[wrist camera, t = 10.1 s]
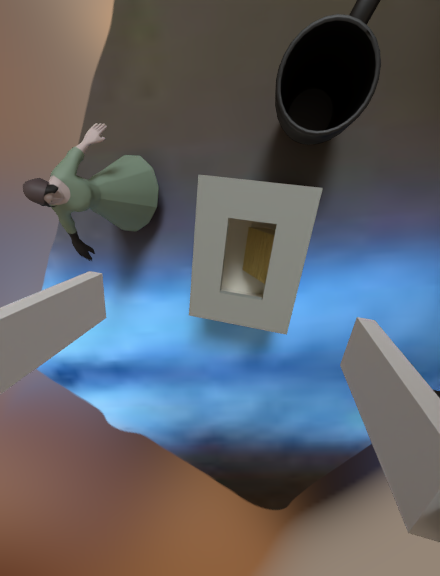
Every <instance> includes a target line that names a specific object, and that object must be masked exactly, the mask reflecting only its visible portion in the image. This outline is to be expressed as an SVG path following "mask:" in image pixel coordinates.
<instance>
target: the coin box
mask: <svg viewBox="0 0 440 576" xmlns="http://www.w3.org/2000/svg"><path fill="white" fill-rule="evenodd" d="M322 189H323V188H318V187H309V186H300V185H290V184H281V183H272V182H262V181H253V180H244V179H234V178H225V177H216V176H206V175H199V176H198V190H197V205H196V220H195V234H194V249H193V264H192V279H191V293H190V308H189V315H190V316H195V317H200V318H205V319H210V320H215V321H220V322H225V323H230V324H236V325H241V326H246V327H251V328H256V329H261V330H266V331H271V332H276V333H282V334H287V331H288V327H289V323H290V319H291V315H292V310H293V306H294V302H295V298H296V294H297V290H298V286H299V282H300V278H301V274H302V270H303V266H304V262H305V258H306V254H307V250H308V246H309V242H310V238H311V233H312V229H313V225H314V221H315V217H316V213H317V209H318V205H319V201H320V197H321V193H322ZM249 227H258V228H269V229H272V230H275V235H274V240H273V245H272V251H271V256H270V261H269V266H268V272H267V277H266V282H265V284H264V283H262V282H261V281H259V280H258V279H256V278H254V277H253V276H251V275H250V274H248V273H247V272H245V271H243V270H242V268H243V262H244V255H245V248H246V242H247V235H248V229H249Z"/></svg>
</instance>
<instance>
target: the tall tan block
mask: <svg viewBox="0 0 440 576" xmlns="http://www.w3.org/2000/svg"><path fill="white" fill-rule="evenodd" d="M274 235H275V230H272V229H269V228H258V227H249V229H248V235H247V242H246V248H245V255H244V262H243V268H242V270H243V271H245V272H247V273H248V274H250V275H251V276H253V277H254V278H256V279H258V280H259V281H261V282H262V283H264V284H265V282H266V277H267V272H268V266H269V261H270V256H271V251H272V245H273V240H274Z"/></svg>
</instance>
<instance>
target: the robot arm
mask: <svg viewBox="0 0 440 576" xmlns="http://www.w3.org/2000/svg"><path fill="white" fill-rule="evenodd" d="M105 318H106V311H105V300H104V288H103V277H102V273H96V272H91V271H89V272H87V273H84V274H82V275H79V276H77V277H74V278H72V279H70V280H67V281H65V282H62V283H60V284H57V285H55V286H52V287H50V288H47V289H45V290H42V291H40V292H38V293H35V294H33V295H30V296H28V297H26V298H23V299H20V300H18V301H15V302H13V303H11V304H8V305H6V306H3V307H1V308H0V395H1V394H2V393H3V392H5V391H6V390H7V389H9V388H10V387H12V386H13V385H14V384H16V383H17V382H18V381H20V380H21V379H22V378H24V377H25V376H27V375H28V374H29V373H31V372H32V371H34V370H35V369H36V368H38V367H39V366H40V365H42V364H43V363H45V362H46V361H47V360H49V359H50V358H51V357H53V356H54V355H56V354H57V353H58V352H60V351H61V350H62V349H64V348H65V347H67V346H68V345H69V344H71V343H72V342H73V341H75V340H76V339H78V338H79V337H80V336H82V335H83V334H84V333H86V332H87V331H89V330H90V329H91V328H93V327H94V326H95V325H97V324H98V323H100V322H101V321H102V320H104V319H105ZM340 366H341V368H342V371H343V373H344V376H345V378H346V381H347V383H348V386H349V388H350V391H351V393H352V395H353V398H354V400H355V403H356V405H357V408H358V410H359V413H360V415H361V418H362V420H363V423H364V425H365V427H366V430H367V432H368V435H369V437H370V440H371V442H372V445H373V447H374V450H375V452H376V454H377V457H378V459H379V462H380V464H381V467H382V469H383V472H384V474H385V476H386V479H387V481H388V484H389V487H390V489H391V491H392V494H393V496H394V499H395V501H396V503H397V506H398V509H399V511H400V513H401V516H402V518H403V521H404V523H405V526H406V528H407V530H408V533H411V534H414V535H417V536H421V537H424V538H428V539H431V540H434V541H438V542H440V391H436V390H432V388H431V387H430V386H429V385H428V384H427V382H426V381H425V380H424V379H423V378H422V376H421V375H420V374H419V373H418V372H417V370H416V369H415V368H414V367H413V366H412V364H411V363H410V362H409V361H408V360H407V358H406V357H405V356H404V355H403V354H402V352H401V351H400V350H399V349H398V348H397V346H396V345H395V344H394V343H393V342H392V340H391V339H390V338H389V337H388V336H387V334H386V333H385V332H384V331H383V330H382V328H381V327H380V326H379V325H378V324H377V322H376V321H375V320H370V319H364V318H358V317H357V319H356V322H355V324H354V327H353V330H352V333H351V336H350V339H349V341H348V344H347V347H346V350H345V353H344V356H343V358H342V361H341V364H340Z"/></svg>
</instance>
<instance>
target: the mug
mask: <svg viewBox="0 0 440 576" xmlns="http://www.w3.org/2000/svg"><path fill="white" fill-rule="evenodd" d="M379 2H380V0H357V2H356V4H355V5H354V7H353V9H352V11H351V13H350V15H340V14H336V15H331V16H326V17H323V18H321V19H319V20H317V21H315V22H313V23H311V24H310V25H309V26H308V27H306V28H305V29H304V30H302V31H301V32H300V33H299V35H298V36H297V37H296V38H295V39H294V40H293V41H292V42H291V44H290V46H289V47H288V49H287V51H286V52H285V54H284V56H283V59H282V61H281V64H280V66H279V69H278V74H277V79H276V98H275V107H276V112H277V117H278V120H279V122H280V125H281V127H282V129H283V130H284V131H285V133H286V134H287V135H288V136H289V137H290V138H291V139H292V140H294V141H296V142H298V143H301V144H308V145H310V144H319V143H322V142H325V141H328V140H330V139H332V138H333V137H335V136H337V135H338V134H340V133H341V132H342V131H343V130H345V129H346V128H347V127H348V126H349V125H350V124H351V123H352V122H354V121H355V120H356V119H357V118H358V117H359V116H360V114H361V113H362V112H363V111H364V109H365V108H366V107H367V105H368V104H369V102H370V100H371V98H372V96H373V94H374V92H375V89H376V86H377V83H378V80H379V74H380V67H381V59H380V49H379V46H378V43H377V39H376V37H375V36H374V34H373V32H372V31H371V29H370V28H369V27H368V26H367V23H368V21H369V20H370V18H371V16H372V14H373V13H374V11H375V9H376V7H377V5H378V4H379Z"/></svg>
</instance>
